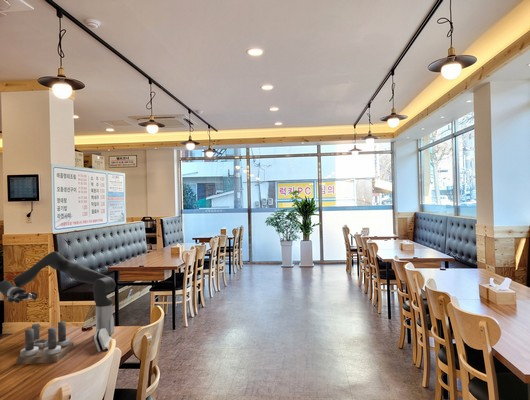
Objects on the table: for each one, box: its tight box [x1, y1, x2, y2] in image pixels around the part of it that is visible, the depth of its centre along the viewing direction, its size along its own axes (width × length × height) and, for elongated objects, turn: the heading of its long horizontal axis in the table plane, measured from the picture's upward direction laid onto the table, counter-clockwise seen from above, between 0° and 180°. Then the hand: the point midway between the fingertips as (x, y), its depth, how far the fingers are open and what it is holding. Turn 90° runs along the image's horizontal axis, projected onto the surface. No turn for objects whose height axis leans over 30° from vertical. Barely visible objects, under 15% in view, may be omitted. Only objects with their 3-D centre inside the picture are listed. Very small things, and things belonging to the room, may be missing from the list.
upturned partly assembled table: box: [15, 320, 74, 365], centre depth 194 cm, size 19×19×15 cm
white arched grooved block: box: [93, 328, 113, 353], centre depth 206 cm, size 17×5×10 cm, turn 14°
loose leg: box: [31, 323, 41, 341], centre depth 207 cm, size 4×4×12 cm
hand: (27, 299), depth 213 cm, fingers open, 8 cm apart
